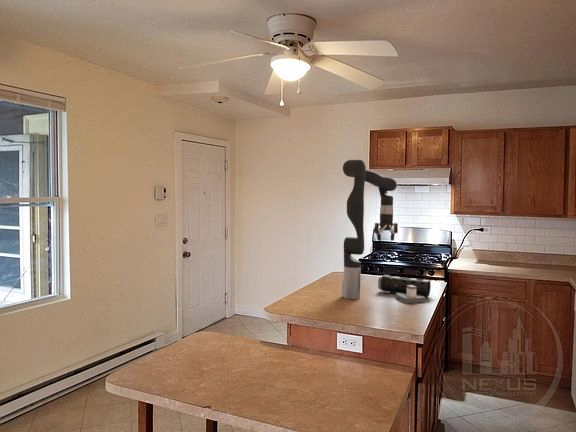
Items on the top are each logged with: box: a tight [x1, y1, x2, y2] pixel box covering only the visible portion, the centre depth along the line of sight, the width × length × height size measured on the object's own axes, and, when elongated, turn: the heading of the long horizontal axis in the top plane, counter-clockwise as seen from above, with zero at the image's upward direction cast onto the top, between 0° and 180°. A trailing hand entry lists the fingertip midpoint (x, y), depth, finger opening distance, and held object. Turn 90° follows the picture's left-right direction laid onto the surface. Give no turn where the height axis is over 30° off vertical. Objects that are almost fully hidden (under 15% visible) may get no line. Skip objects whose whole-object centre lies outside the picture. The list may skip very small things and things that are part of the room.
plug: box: [407, 285, 416, 297], centre depth 234 cm, size 3×4×8 cm
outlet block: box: [395, 293, 427, 304], centre depth 234 cm, size 12×10×3 cm
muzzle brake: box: [377, 274, 432, 299], centre depth 248 cm, size 10×28×10 cm, turn 61°
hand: (385, 240), depth 254 cm, fingers open, 8 cm apart
